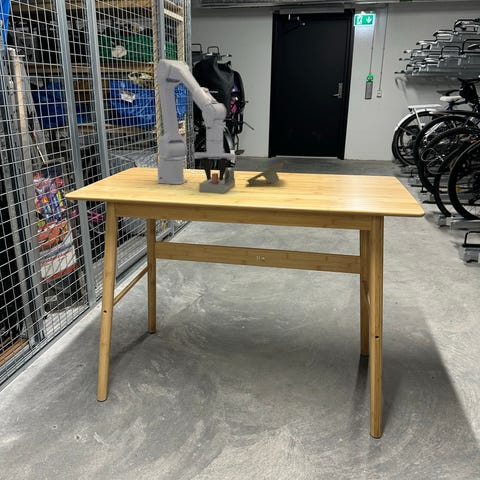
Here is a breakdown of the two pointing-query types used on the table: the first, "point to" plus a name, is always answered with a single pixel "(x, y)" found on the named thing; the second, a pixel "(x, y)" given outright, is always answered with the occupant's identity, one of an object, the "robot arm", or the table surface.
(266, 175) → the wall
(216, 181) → the cylindrical pin
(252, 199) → the table surface
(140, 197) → the table surface
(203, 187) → the silver box with hole
